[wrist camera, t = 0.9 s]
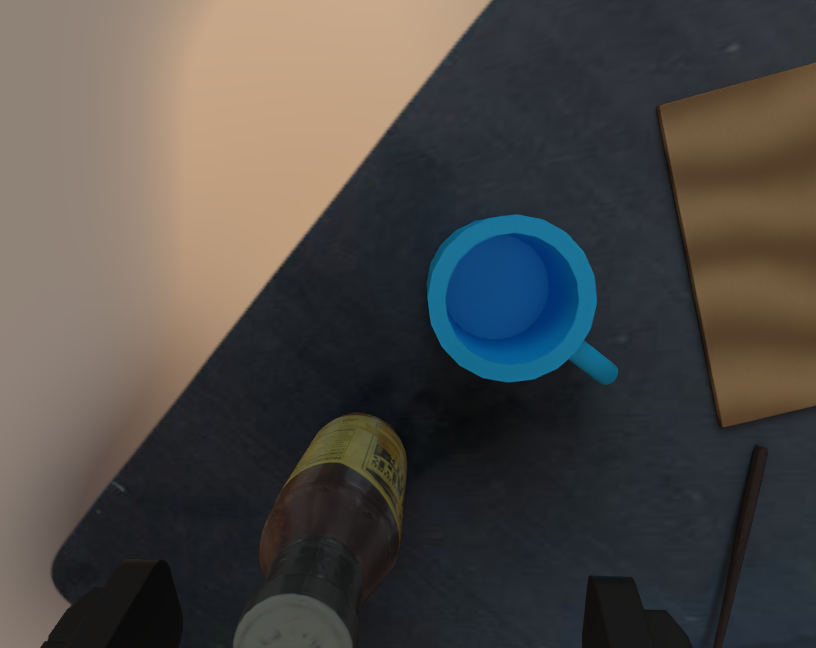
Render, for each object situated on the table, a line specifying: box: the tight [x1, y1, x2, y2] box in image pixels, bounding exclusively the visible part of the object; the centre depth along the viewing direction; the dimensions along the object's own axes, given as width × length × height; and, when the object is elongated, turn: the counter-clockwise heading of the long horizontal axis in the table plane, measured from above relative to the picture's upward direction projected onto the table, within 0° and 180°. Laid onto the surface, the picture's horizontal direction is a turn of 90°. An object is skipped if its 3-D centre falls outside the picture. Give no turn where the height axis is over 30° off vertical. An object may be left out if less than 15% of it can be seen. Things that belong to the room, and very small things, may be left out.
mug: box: [427, 215, 618, 385], centre depth 34 cm, size 12×8×8 cm
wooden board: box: [656, 63, 816, 428], centre depth 37 cm, size 20×13×1 cm, turn 15°
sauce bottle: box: [233, 412, 407, 648], centre depth 30 cm, size 6×6×20 cm
